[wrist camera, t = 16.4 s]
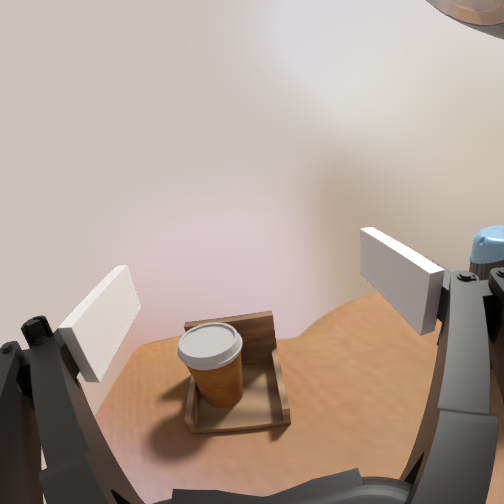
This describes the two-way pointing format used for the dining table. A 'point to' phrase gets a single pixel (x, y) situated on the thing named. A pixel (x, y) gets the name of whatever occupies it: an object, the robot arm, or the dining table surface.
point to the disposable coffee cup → (214, 362)
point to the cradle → (245, 382)
